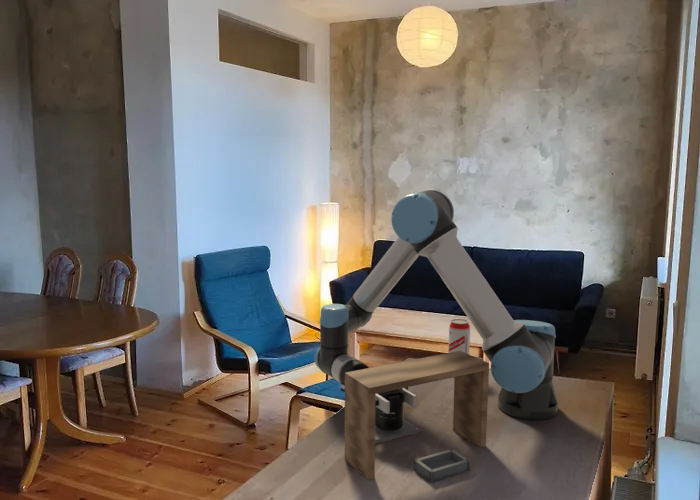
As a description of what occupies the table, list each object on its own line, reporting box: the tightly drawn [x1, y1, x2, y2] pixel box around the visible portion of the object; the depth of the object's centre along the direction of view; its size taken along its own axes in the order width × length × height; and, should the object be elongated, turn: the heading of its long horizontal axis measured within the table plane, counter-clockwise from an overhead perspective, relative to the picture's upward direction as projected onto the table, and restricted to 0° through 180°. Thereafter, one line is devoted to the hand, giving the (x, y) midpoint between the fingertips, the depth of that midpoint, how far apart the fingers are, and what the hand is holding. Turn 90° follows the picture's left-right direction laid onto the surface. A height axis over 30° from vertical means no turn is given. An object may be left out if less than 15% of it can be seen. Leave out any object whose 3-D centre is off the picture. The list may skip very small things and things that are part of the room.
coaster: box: [375, 419, 419, 444], centre depth 150 cm, size 12×12×1 cm
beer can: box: [447, 318, 471, 355], centre depth 187 cm, size 6×6×16 cm
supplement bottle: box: [375, 388, 405, 431], centre depth 146 cm, size 7×7×12 cm
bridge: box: [344, 351, 490, 480], centre depth 137 cm, size 10×31×20 cm, turn 119°
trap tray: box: [413, 448, 471, 484], centre depth 130 cm, size 6×10×2 cm, turn 119°
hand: (401, 404), depth 142 cm, fingers closed on supplement bottle, 7 cm apart
